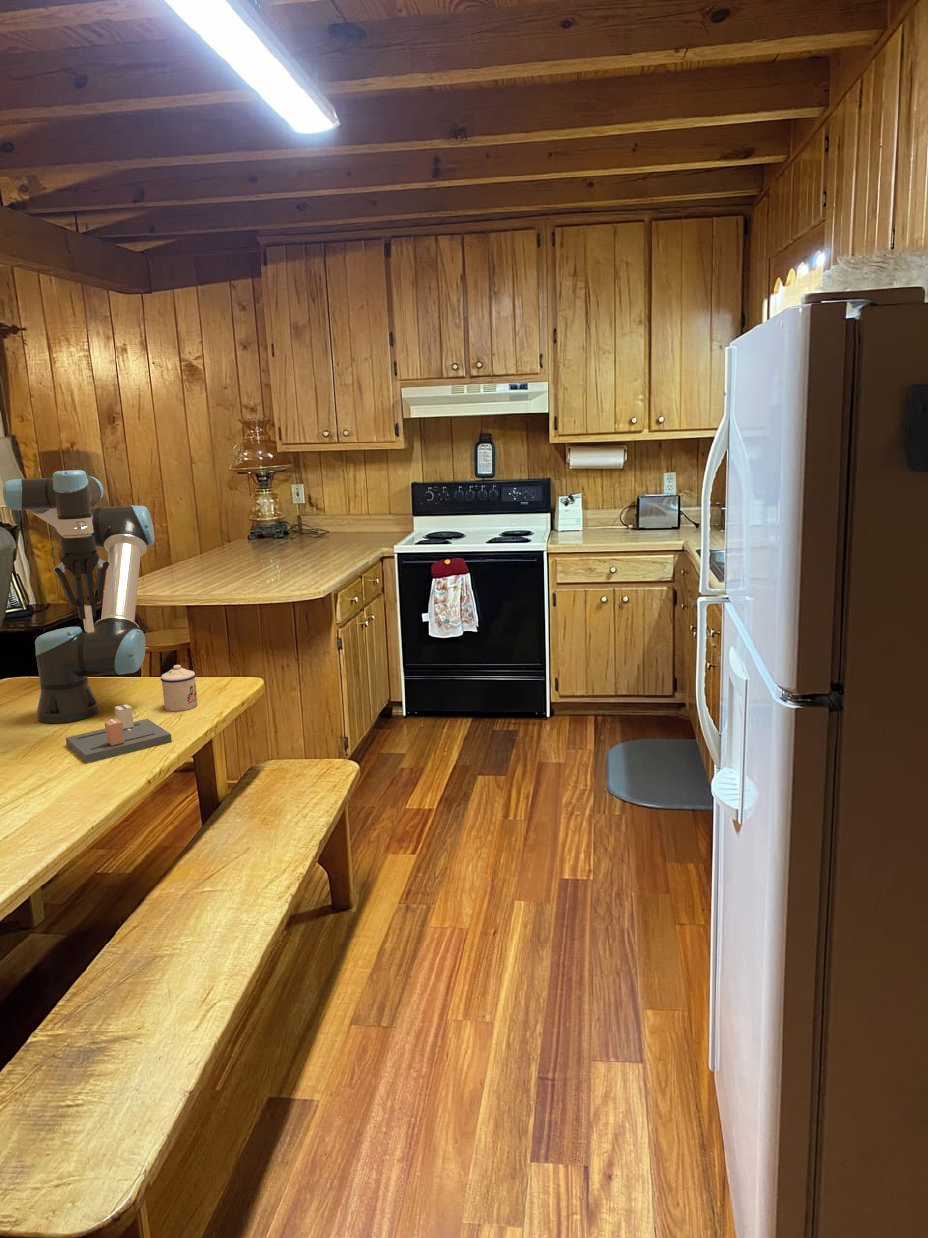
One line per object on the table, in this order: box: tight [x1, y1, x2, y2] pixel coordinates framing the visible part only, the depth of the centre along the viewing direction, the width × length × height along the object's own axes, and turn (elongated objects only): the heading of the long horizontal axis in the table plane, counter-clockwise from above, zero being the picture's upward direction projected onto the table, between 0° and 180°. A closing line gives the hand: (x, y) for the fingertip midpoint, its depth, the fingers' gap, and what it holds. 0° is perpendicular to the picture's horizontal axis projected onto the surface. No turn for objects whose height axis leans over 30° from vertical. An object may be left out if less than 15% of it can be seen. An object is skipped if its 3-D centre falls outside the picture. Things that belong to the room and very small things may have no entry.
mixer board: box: [65, 718, 173, 764], centre depth 218 cm, size 16×20×2 cm
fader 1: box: [104, 718, 125, 745], centre depth 212 cm, size 4×3×5 cm
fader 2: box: [114, 703, 134, 729], centre depth 223 cm, size 4×3×5 cm
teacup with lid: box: [160, 664, 198, 712], centre depth 246 cm, size 12×9×12 cm
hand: (89, 631), depth 220 cm, fingers closed
